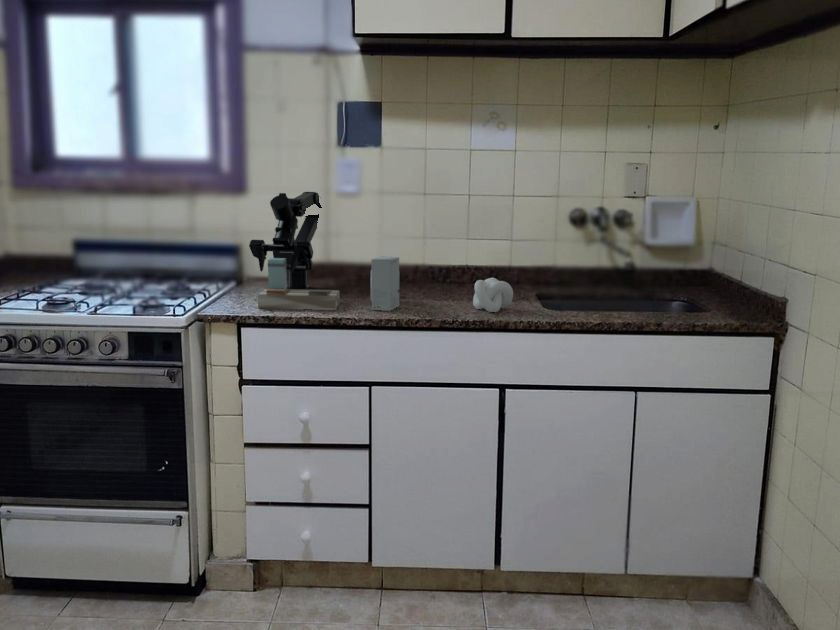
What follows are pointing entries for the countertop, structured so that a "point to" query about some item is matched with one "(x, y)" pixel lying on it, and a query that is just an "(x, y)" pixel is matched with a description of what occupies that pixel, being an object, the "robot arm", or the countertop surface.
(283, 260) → the teal lidded box
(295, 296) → the socket board
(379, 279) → the skincare box
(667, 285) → the countertop surface
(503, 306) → the white knot
